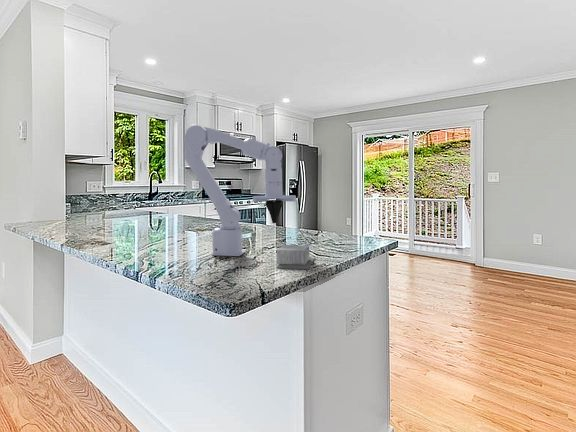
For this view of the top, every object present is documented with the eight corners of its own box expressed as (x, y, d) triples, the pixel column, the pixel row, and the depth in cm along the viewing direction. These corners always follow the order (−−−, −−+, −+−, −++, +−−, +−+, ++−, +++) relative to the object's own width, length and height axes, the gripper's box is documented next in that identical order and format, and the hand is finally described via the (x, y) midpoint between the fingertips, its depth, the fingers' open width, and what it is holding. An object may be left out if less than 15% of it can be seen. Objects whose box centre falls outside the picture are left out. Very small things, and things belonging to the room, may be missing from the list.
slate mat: (276, 268, 105) (276, 266, 105) (287, 257, 118) (287, 256, 118) (308, 269, 103) (308, 268, 103) (314, 258, 116) (314, 257, 116)
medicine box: (276, 264, 108) (305, 265, 106) (276, 249, 107) (305, 250, 106) (282, 258, 115) (309, 259, 114) (282, 244, 115) (309, 245, 113)
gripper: (249, 183, 121) (251, 224, 123) (292, 182, 118) (293, 224, 120) (255, 183, 128) (257, 221, 130) (296, 182, 125) (297, 221, 127)
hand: (274, 222), depth 125 cm, fingers closed
